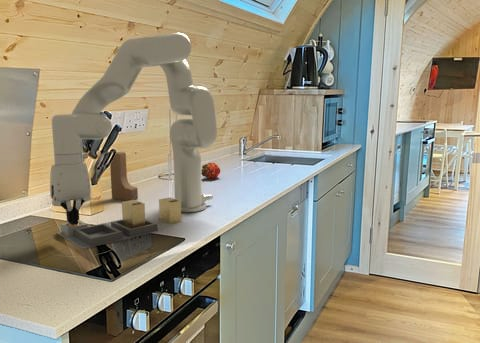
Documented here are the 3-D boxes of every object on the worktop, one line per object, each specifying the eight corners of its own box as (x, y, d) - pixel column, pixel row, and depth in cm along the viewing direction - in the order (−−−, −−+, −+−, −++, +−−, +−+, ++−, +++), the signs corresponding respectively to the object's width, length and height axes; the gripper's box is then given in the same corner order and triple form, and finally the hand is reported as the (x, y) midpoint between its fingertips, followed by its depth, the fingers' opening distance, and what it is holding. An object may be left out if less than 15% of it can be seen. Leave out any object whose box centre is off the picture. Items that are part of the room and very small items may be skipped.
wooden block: (138, 198, 177) (136, 152, 174) (131, 201, 173) (129, 154, 170) (118, 197, 180) (116, 151, 177) (111, 199, 176) (109, 153, 172)
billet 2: (170, 221, 146) (169, 196, 144) (181, 225, 141) (180, 200, 140) (159, 224, 143) (158, 198, 142) (170, 228, 139) (169, 202, 137)
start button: (77, 229, 132) (76, 221, 132) (81, 231, 130) (80, 223, 130) (67, 231, 130) (67, 223, 130) (71, 233, 128) (70, 225, 128)
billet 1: (135, 225, 136) (134, 199, 135) (145, 230, 132) (144, 202, 130) (123, 228, 134) (121, 201, 132) (133, 233, 129) (131, 205, 128)
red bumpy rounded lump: (203, 184, 210) (214, 183, 222) (217, 174, 208) (228, 174, 219) (194, 169, 212) (205, 168, 223) (208, 159, 209) (219, 159, 221)
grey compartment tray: (132, 221, 146) (132, 209, 145) (163, 234, 132) (162, 221, 132) (56, 238, 130) (55, 224, 129) (82, 254, 117) (81, 239, 116)
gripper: (89, 155, 134) (93, 216, 137) (36, 160, 124) (41, 225, 127) (100, 158, 128) (104, 221, 132) (46, 163, 119) (51, 231, 122)
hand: (73, 223), depth 130 cm, fingers closed
